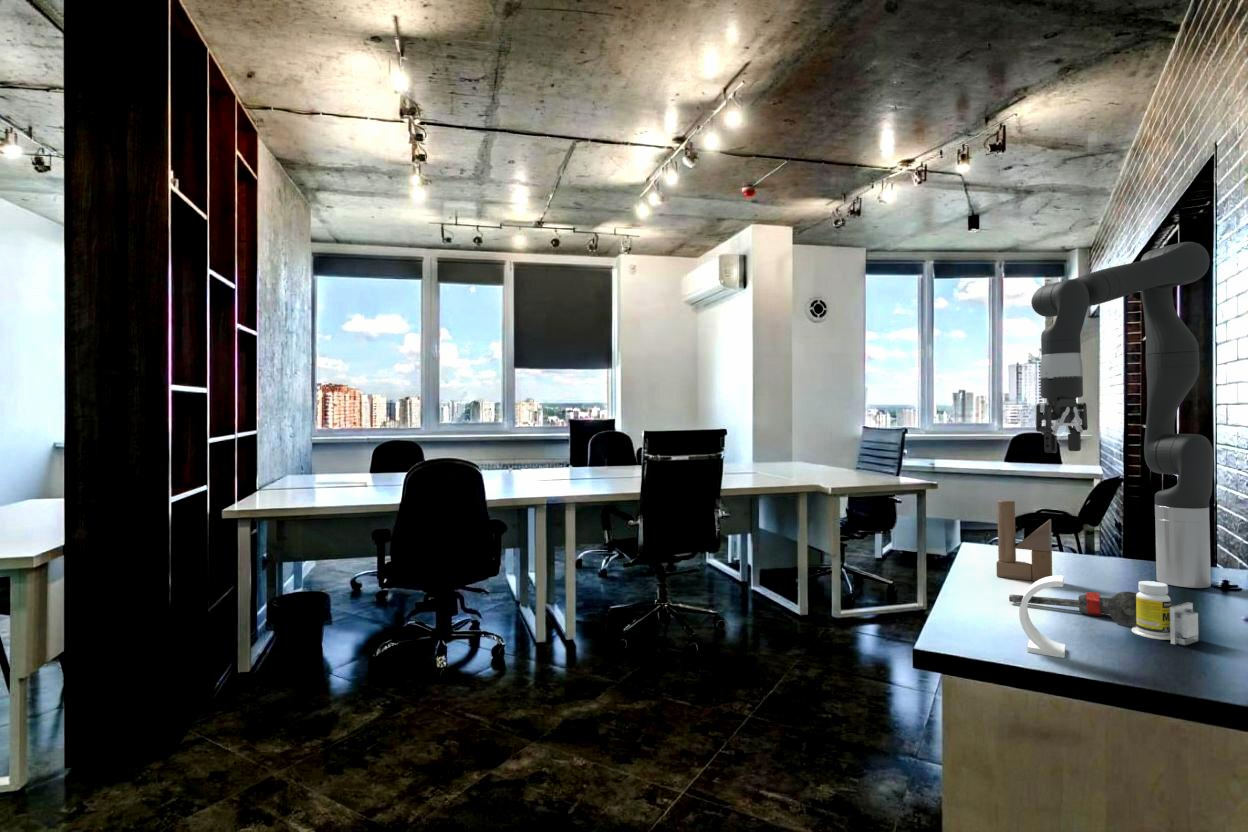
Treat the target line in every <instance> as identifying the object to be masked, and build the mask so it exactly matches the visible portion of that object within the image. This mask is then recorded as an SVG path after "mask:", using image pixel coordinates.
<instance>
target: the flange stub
mask: <svg viewBox="0 0 1248 832" xmlns="http://www.w3.org/2000/svg"><path fill="white" fill-rule="evenodd" d="M1193 605H1194V603H1193V602H1190V601H1187V602H1183V603H1181V604H1177V605H1172V607H1170V636H1171V640H1170V644H1171V645H1177V644H1178V645H1181V646H1188V645H1190V644H1193V643H1197V642H1199V613H1198V612H1195V611H1194V606H1193Z"/></svg>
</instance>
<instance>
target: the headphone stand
mask: <svg viewBox="0 0 1248 832" xmlns="http://www.w3.org/2000/svg"><path fill="white" fill-rule="evenodd" d="M1064 581H1065V576H1064V575H1060V574H1059V575H1052V576H1048V577H1045V578H1042V579H1040V580H1038V581H1036V582H1034V581H1033V583H1032V584H1031V585H1030V586H1029V587H1028V588H1027V589H1026V591H1025V592H1024V594H1023V599H1022V602H1020V605H1019V615H1018V616H1019V621H1020V625H1021V628H1022V630H1023V631H1024V634H1025V635H1026V637H1027V638H1028V639H1029V640H1028V643H1027V652H1026V653H1031V654H1037V655H1038V654H1039V655H1043V656H1051V657H1057V658H1063V659H1065V656H1066V644H1065V643H1060V642H1057V641H1055V640H1052V639H1051V638H1049V637H1047V636H1045V635H1044V634H1042V633H1041V632H1040V631H1039V630H1038V629H1037V627H1035V625H1034V624H1033V622H1032V621H1031V618H1030V614H1029V610H1028V607H1029V606H1028V605H1029V603H1028V602H1029V600H1030V599H1031V597H1032V596H1035V594H1037V593H1038V592H1040V591H1043V590H1045V589H1049V588H1054V587H1057V588H1059V587H1061V588H1063V587H1064V583H1065V582H1064Z"/></svg>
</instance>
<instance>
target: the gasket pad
mask: <svg viewBox="0 0 1248 832" xmlns="http://www.w3.org/2000/svg"><path fill="white" fill-rule="evenodd" d="M1131 632H1132V633H1133V634H1135V635H1138V636H1140V637H1145V638H1148V639H1153V640H1161V641H1162V640H1163V641H1164V640H1165V641H1167V640H1168V641H1169V640H1170V641H1171V636H1170V635H1168V636H1157V635H1151V634H1146V633H1143V632H1140V631H1138V630H1137V627H1132V628H1131Z"/></svg>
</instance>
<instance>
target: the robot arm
mask: <svg viewBox="0 0 1248 832" xmlns="http://www.w3.org/2000/svg"><path fill="white" fill-rule="evenodd" d="M1210 262H1211V260H1210V255H1209V252H1208V250H1207V248H1205V247H1204V246H1203V245H1202V244H1200V243H1198V242H1195V241H1194V242H1193V241H1184V242H1183V241H1182V242H1178V243H1174V244H1170V245H1165V246H1161V247H1158V248H1153V249H1151V250H1148V251H1147V252H1146V253H1144V254H1143V255H1142V257H1141V258H1140V260H1139V261H1135V262H1130V263H1126V264H1121V265H1115V266H1111V267H1107V268H1104V269H1100V270H1097V271H1093V272H1089V273H1086V274H1084V275H1081V276H1078V277H1075V278H1071V279H1066V280H1061V281H1058V282H1053V283H1049V284H1045V285H1042V286H1040V287H1039V288H1038V289H1037V290H1036V291H1035V292H1034V293H1033V295H1032V297H1031V300H1030V301H1031V307H1032V309H1033V311H1034V312H1035V313H1036V314H1038V315H1039V316H1042V317H1043V318H1044V317H1046V318H1052V317H1056V318H1055V321H1054V323H1053V324H1052V325H1051V326H1049V327H1047V328H1045V329H1044V330H1042V332H1041V335H1040V344H1041V345H1040V346H1041V347H1040V349H1041V357H1040V358H1041V359H1040V366H1039V367H1040V369H1039V370H1040V371H1039V372H1040V397H1041V398H1042V399H1046V402H1040V403H1037V404H1036V412H1035V413H1036V414H1035V417H1036V420H1035V422H1036V423H1035V424H1036V425H1035V430H1036V432H1037V433H1039V432H1040V433H1041V434H1042V435H1043V443H1044V444H1043V447H1044V448H1043V449H1044V452H1045V453H1046V454H1047V453H1048V454H1056V453H1058V435H1057V432H1058V430H1059V428H1060V427H1062V426H1064V428H1066V431H1067V449H1068V451H1069V452H1080V451H1081V450H1082V446H1081V445H1082V444H1081V443H1082V442H1081V440H1082V439H1081V434H1083V433H1084V432H1083V431H1087V430H1088V426H1089V425H1088V413H1087V409H1088V408H1087V407H1088V406H1087V403H1086V402H1077V399H1078V398H1082V397H1083V396H1084V384H1083V383H1084V382H1083V379H1084V378H1083V375H1084V373H1083V371H1084V370H1083V360H1082V354H1081V353H1082V352H1081V351H1082V350H1081V334H1082V330H1083V327H1084V324H1085V319H1086V316H1087V312H1088V310H1089V307H1092V306H1096V305H1101V304H1104V303H1107V302H1111V301H1113V300H1117V299H1120V298H1124V297H1126V296H1129V295H1133V294H1136V293H1138V292H1140V294H1141V295H1140V296H1141V302H1142V308H1143V316H1144V329H1145V330H1144V332H1145V371H1146V394H1147V397H1146V398H1147V400H1146V401H1147V403H1146V405H1147V406H1146V421H1145V432H1144V443H1143V444H1144V445H1143V451H1144V452H1143V453H1144V460H1145V463H1146V465H1147V468H1149V470H1150V471H1151V472H1153V473H1155V474H1163V475H1173V476H1178V480H1177V483H1176V485H1174V486H1173V487H1169V488H1167V489H1161V490H1159V491H1157V492H1156V493H1155V494H1154V517H1155V519H1154V521H1155V522H1154V523H1155V560H1156V561H1155V564H1156V565H1155V566H1156V567H1155V568H1156V569H1155V570H1156V576H1155V577H1156V582H1160V583H1164V584H1167V585H1168V586H1169V585H1170V586H1174V587H1181V588H1191V589H1192V588H1193V589H1204V588H1205V589H1207V588H1210V587H1211V582H1212V581H1211V577H1212V576H1211V538H1210V537H1211V535H1210V534H1211V531H1210V529H1211V527H1210V526H1211V525H1210V499H1211V496H1212V494H1213V493H1212V492H1213V475H1214V474H1213V472H1214V451H1213V446H1212V444H1211V441H1210V440H1209V439H1208V437H1206V436H1204V435H1202V434H1196V433H1176V432H1175V424H1176V416H1177V414H1178V413H1177V412H1178V410H1179V408H1180V405H1181V404H1182V402H1183V401H1184V399H1185V398H1186V396H1187V395H1188V394H1189V392H1190V391H1191V389H1193V387H1194V385H1195V384H1196V381H1198V377H1199V373H1200V349H1199V348H1200V347H1199V343H1198V341H1197V339H1196V336H1195V335H1194V334H1193V332H1192V331H1191V330H1190V329H1189V328H1188V327H1187V325H1186V324H1185V322H1184V321H1183V320H1182V319H1181V318H1180V316H1179V315H1178V313H1177V311H1176V309H1175V305H1174V296H1173V294H1174V293H1173V288H1174V287H1179V286H1184V285H1188V284H1191V283H1195V282H1196V281H1198V280H1200V279H1201V278H1202V277H1203V276H1205V275H1206V274H1207V272H1208V270H1209V267H1210Z"/></svg>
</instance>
